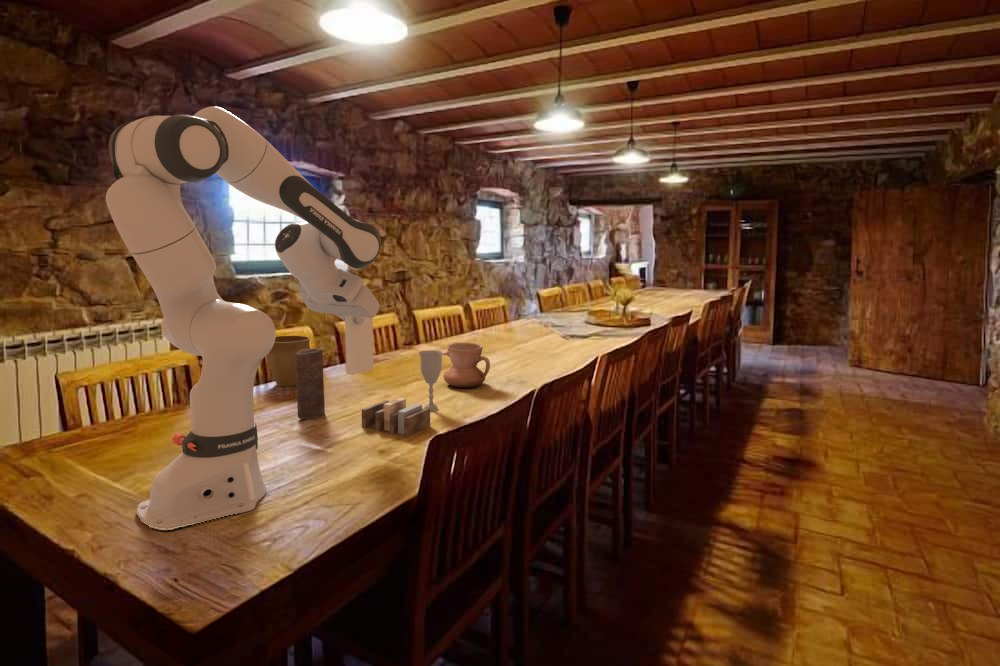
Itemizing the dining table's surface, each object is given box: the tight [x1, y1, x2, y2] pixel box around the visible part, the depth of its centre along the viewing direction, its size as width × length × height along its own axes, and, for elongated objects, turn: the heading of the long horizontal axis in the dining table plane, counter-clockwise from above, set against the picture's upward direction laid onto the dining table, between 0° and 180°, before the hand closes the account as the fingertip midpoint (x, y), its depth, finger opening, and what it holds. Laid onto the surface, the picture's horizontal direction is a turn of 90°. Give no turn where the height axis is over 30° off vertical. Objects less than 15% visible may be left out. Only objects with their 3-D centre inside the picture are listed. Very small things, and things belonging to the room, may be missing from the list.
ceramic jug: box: [442, 342, 491, 389], centre depth 206 cm, size 18×14×14 cm
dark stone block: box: [296, 348, 326, 420], centre depth 165 cm, size 8×7×20 cm
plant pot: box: [266, 335, 311, 388], centre depth 202 cm, size 15×15×16 cm
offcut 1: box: [384, 397, 407, 431], centre depth 158 cm, size 7×2×7 cm, turn 153°
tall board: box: [344, 315, 374, 376], centre depth 149 cm, size 8×2×16 cm, turn 153°
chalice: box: [418, 349, 444, 412], centre depth 174 cm, size 7×7×18 cm
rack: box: [361, 399, 431, 438], centre depth 158 cm, size 10×15×6 cm, turn 63°
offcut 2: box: [398, 403, 423, 435], centre depth 156 cm, size 8×2×6 cm, turn 153°
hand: (355, 321), depth 147 cm, fingers closed on tall board, 2 cm apart
